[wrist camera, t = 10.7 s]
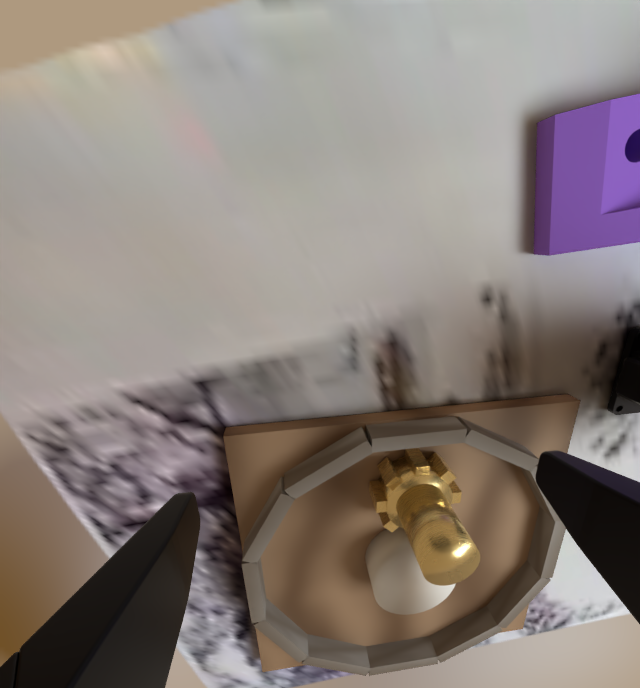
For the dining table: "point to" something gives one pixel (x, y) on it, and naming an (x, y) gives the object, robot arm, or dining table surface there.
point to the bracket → (588, 178)
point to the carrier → (391, 547)
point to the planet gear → (426, 514)
